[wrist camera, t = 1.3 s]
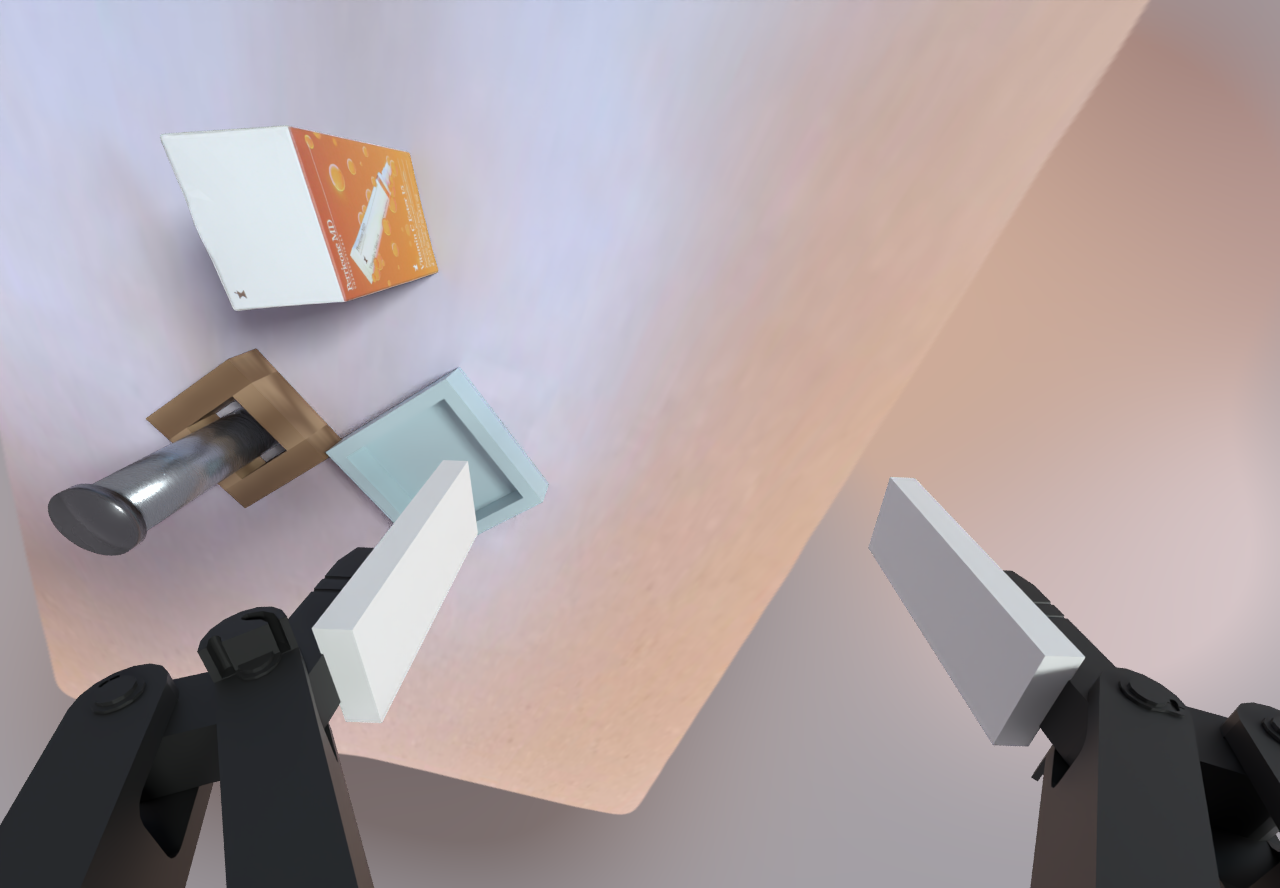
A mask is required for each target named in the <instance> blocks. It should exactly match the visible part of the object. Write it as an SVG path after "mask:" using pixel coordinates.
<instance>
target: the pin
mask: <svg viewBox="0 0 1280 888" xmlns="http://www.w3.org/2000/svg"><path fill="white" fill-rule="evenodd" d="M277 444H279V442H278V441H277V440H276V439H275V438H274V437H273V436H272V435H271V434H270V433H269V432H268V431H267V430H266V429H265V428H264V427H263V426H262V425H261V424H260V423H259V422H258V421H257V420H256V419H255V418H254V417H253V416H252V415H251V414H250V413H249V412H248V411H247V410H246V409H245V408H244V407H242V408H240V409H238V410H236V411H234V412H232V413H230V414H228V415H226V416H224V417H222V418H220V419H218V420H217V421H215V422H213V423H211V424H209V425H207V426H205V427H203V428H201V429H199V430H197V431H195V432H193V433H191V434H189V435H187V436H185V437H183V438H181V439H179V440H178V441H176V442H174V443H172V444H170V445H168V446H166V447H164V448H162V449H160V450H158V451H156V452H154V453H152V454H150V455H148V456H146V457H144V458H142V459H140V460H138V461H137V462H135V463H133V464H131V465H129V466H127V467H125V468H123V469H121V470H119V471H117V472H115V473H113V474H111V475H109V476H107V477H105V478H103V479H101V480H99V481H98V482H96V483H94V484H79V485H75V486H72V487H70V488H68V489H66V490H64V491H62V492H60V493H58V494H56V495H54V496H53V497H52V498H51V500H50V502H49V504H48V512H49V516H50V518H51V521H52V522H53V524H54V525H55V527H56V528H57V529H58V530H59V532H60V533H61V534H63V535H64V536H65V537H66V538H67V539H68V540H70V541H71V542H73V543H74V544H76V545H78V546H79V547H81V548H83V549H86V550H88V551H91V552H94V553H97V554H102V555H111V556H112V555H121V554H124V553H126V552H128V551H129V550H131V549H132V548H134V547H135V546H137V545H138V544H140V543H141V542H142V541H143V540H144V539H145V537H146V534H147V530H149V529H150V528H152V527H153V526H155V525H156V524H158V523H159V522H161V521H162V520H164V519H165V518H167V517H168V516H170V515H171V514H173V513H174V512H176V511H177V510H179V509H180V508H182V507H183V506H185V505H186V504H188V503H189V502H191V501H193V500H194V499H196V498H197V497H199V496H200V495H202V494H203V493H205V492H206V491H208V490H209V489H211V488H212V487H214V486H215V485H217V484H218V483H220V482H221V481H223V480H224V479H226V478H227V477H229V476H230V475H232V474H233V473H235V472H236V471H238V470H239V469H241V468H242V467H244V466H245V465H247V464H248V463H250V462H251V461H253V460H255V459H256V458H258V457H259V456H261V455H262V454H264V453H265V452H267V451H268V450H270V449H271V448H273V447H274V446H276V445H277Z"/></svg>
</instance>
